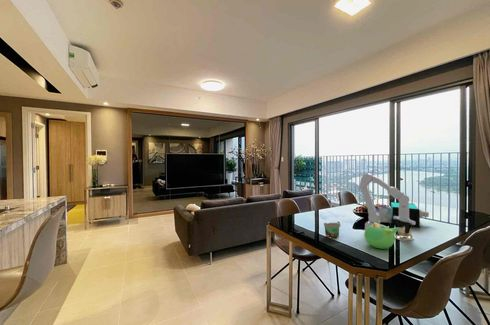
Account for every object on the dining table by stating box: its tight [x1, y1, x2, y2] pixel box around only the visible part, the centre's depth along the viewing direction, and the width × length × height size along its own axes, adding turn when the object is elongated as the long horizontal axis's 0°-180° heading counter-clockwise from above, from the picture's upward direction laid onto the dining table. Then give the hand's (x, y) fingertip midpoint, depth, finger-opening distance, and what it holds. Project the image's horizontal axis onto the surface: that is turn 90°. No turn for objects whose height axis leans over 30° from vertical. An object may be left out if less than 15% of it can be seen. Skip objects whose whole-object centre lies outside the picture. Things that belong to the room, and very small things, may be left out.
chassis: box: [395, 234, 415, 242], centre depth 146 cm, size 10×6×2 cm, turn 101°
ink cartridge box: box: [376, 204, 392, 223], centre depth 187 cm, size 10×6×14 cm, turn 78°
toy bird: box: [364, 222, 399, 250], centre depth 132 cm, size 18×17×15 cm
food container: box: [323, 221, 341, 239], centre depth 150 cm, size 12×6×10 cm, turn 105°
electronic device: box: [390, 201, 430, 229], centre depth 181 cm, size 25×25×15 cm
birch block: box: [397, 226, 412, 237], centre depth 146 cm, size 6×4×5 cm, turn 102°
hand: (404, 232), depth 146 cm, fingers closed on birch block, 4 cm apart
